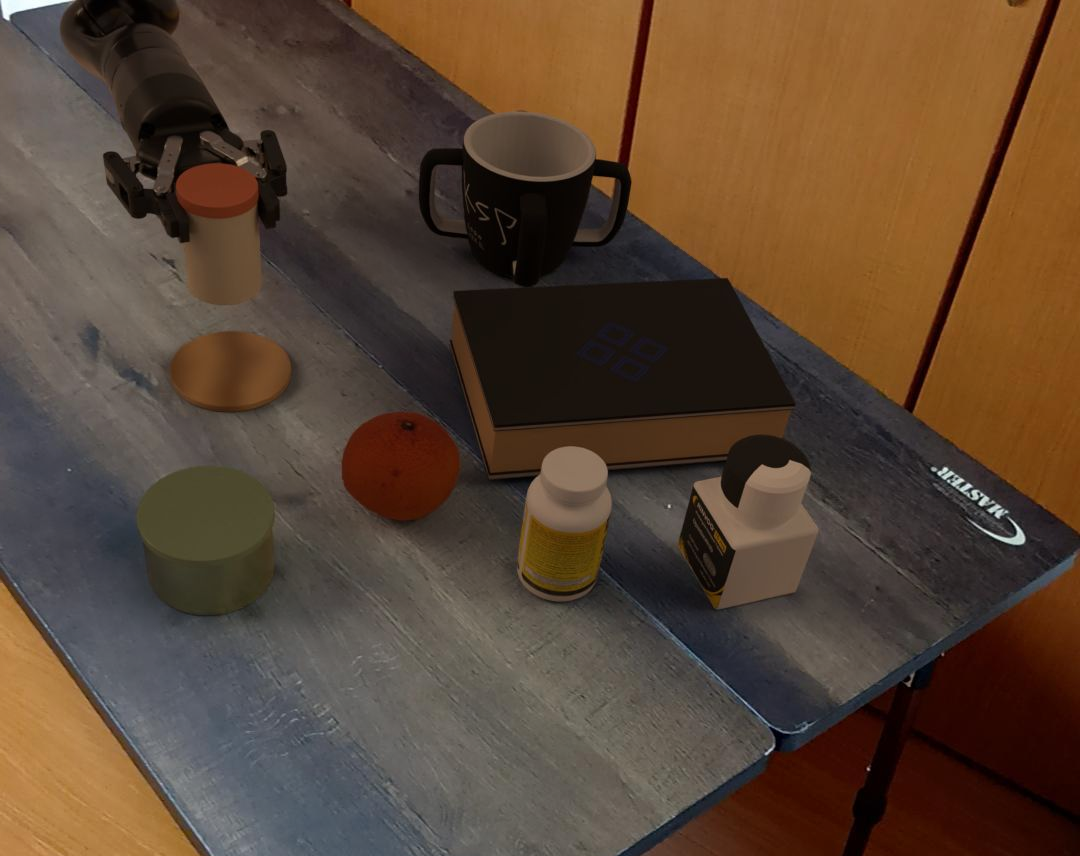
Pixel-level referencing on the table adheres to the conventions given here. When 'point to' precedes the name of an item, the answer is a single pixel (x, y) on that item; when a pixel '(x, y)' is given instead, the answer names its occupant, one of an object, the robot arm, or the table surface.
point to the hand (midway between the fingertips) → (228, 225)
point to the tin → (207, 539)
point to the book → (613, 373)
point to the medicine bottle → (750, 524)
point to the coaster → (230, 371)
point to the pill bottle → (565, 525)
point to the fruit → (400, 465)
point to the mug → (524, 193)
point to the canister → (221, 233)
